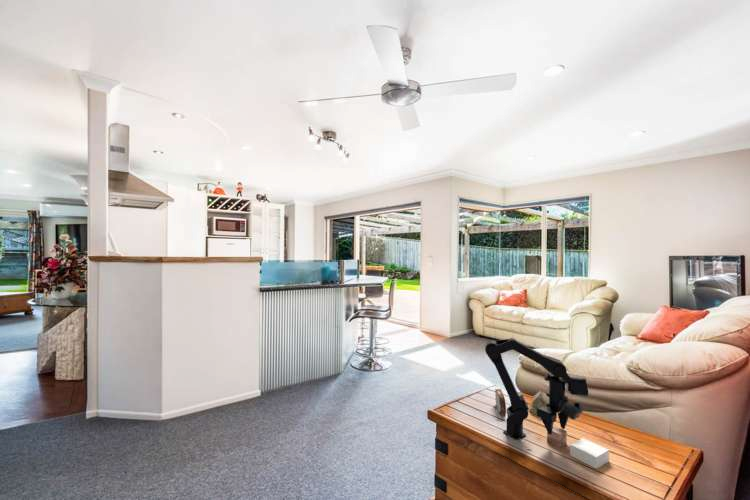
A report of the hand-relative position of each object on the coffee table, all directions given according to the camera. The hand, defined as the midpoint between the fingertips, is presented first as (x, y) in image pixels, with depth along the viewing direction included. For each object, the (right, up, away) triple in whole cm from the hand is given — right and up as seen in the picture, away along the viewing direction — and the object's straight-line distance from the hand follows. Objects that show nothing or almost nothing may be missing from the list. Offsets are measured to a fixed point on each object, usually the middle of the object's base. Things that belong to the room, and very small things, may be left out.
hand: (556, 431), depth 130 cm
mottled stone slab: (-12, -5, +28) cm, 31 cm away
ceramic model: (+8, -6, +28) cm, 29 cm away
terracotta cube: (0, -4, 0) cm, 4 cm away
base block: (+6, -4, -10) cm, 13 cm away
